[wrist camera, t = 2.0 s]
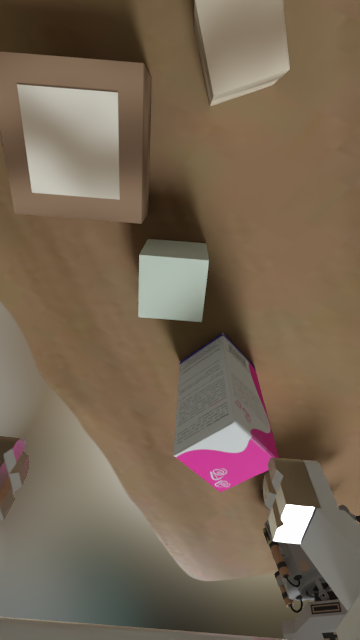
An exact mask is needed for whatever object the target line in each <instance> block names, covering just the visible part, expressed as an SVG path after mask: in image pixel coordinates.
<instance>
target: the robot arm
mask: <svg viewBox="0 0 360 640" xmlns="http://www.w3.org/2000/svg"><path fill="white" fill-rule="evenodd" d="M25 447H26V444H25V440H24V439H21V438H13V437H2V436H0V520H4V519H5V517H6V515H7V513H8V511H9V509H10V507H11V505H12V503H13V502H14V500H15V497H14V491H15V490H17V489H18V488H20V487H21V486H22V485H23V483H24V480H25V478H26V476H27V473H28V469H29V458H28V455H27V454H26V453H25V452H24V449H25ZM268 469H269V472H267V473H266V474H265V476H264V480H263V496H264V502H265V505H266V506H267V508H268V509H269V510H270V515H269V518H268V521H269V525H270V530H271V534H272V539H273V541H275V542H284V543H294V544H301V545H300V546H301V547H302V549H303V550H304V552H305V553H306V554H307V556H308V557H309V559H310V560H311V561H312V563H313V564H314V565H315V567H316V568H317V570H318V571H319V572H320V574H321V575H322V576H323V578H324V579H325V581H326V582H327V583H328V585H329V586H330V588H331V589H332V590H333V592H334V593H335V594H336V596H337V597H338V599H339V600H340V601H341V603H342V604H343V605H344V607H345V608H346V610H347V613H346V614H345V616H344V617H343V619H342V620H341V622H340V623H339V625H338V627H337V628H336V633H337V636H338V640H360V525H359V524H358V523H357V522H356V521H355V520H354V519H353V518H352V517H351V516H350V515H349V514H348V513H347V512H346V511H344V510H339V507H338V505H337V503H336V500H335V498H334V496H333V493H332V491H331V489H330V486H329V484H328V482H327V479H326V477H325V475H324V472H323V470H322V468H321V465H320V464H319V462H318V461H311V460H300V459H287V458H270V459H269V462H268ZM0 640H290V639H277V638H264V637H252V636H238V635H227V634H214V633H200V632H188V631H175V630H162V629H149V628H137V627H124V626H112V625H98V624H86V623H72V622H59V621H48V620H35V619H21V618H8V617H0Z"/></svg>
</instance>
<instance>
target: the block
mask: <svg viewBox="0 0 360 640" xmlns="http://www.w3.org/2000/svg"><path fill="white" fill-rule="evenodd" d="M194 30H195V35H196V40H197V45H198V50H199V55H200V60H201V65H202V70H203V75H204V80H205V85H206V90H207V95H208V100H209V104H210V106H213V105H216V104H219V103H222V102H225V101H228V100H230V99H233V98H236V97H239V96H242V95H245V94H248V93H251V92H254V91H257V90H260V89H262V88H265V87H268V86H271V85H273V84H274V83H275V82H276V81H277V80H279V79H280V78H281V77H282V76H283V75H284V74H285V73H286V72H288V71H289V70H290V67H289V57H288V47H287V37H286V27H285V17H284V7H283V0H195V4H194Z"/></svg>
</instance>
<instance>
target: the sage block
mask: <svg viewBox="0 0 360 640" xmlns="http://www.w3.org/2000/svg"><path fill="white" fill-rule="evenodd" d="M208 266H209V257H208V250H207V244H206V243H194V242H182V241H169V240H157V239H148V240H147V241H146V243H145V245H144V247H143V249H142V251H141V252H140V254H139V317H144V318H157V319H169V320H182V321H194V322H202V316H203V308H204V300H205V291H206V283H207V274H208Z"/></svg>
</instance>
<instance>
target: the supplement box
mask: <svg viewBox="0 0 360 640" xmlns="http://www.w3.org/2000/svg"><path fill="white" fill-rule="evenodd" d="M174 456H175V457H176V458H178V459H179V460H180V461H181V462H183V463H184V464H185V465H186V466H188V467H189V468H190V469H192V470H193V471H194V472H195V473H197V474H198V475H199V476H200V477H202V478H203V479H204V480H205V481H207V482H208V483H209V484H210V485H212V486H213V487H214V488H216V489H217V490H218V491H219V492H222V491H225V490H227V489H229V488H231V487H233V486H235V485H237V484H239V483H241V482H243V481H245V480H247V479H250V478H252V477H254V476H256V475H258V474H261V473H263V472H265V471H268V470H269V469H268V462H269V459H270V458H279V456H278V453H277V449H276V445H275V441H274V438H273V434H272V430H271V427H270V423H269V419H268V416H267V412H266V408H265V404H264V401H263V397H262V393H261V389H260V385H259V382H258V378H257V374H256V370H255V367H254V366H253V365H252V363H251V362H250V361H249V360H248V359H247V358H246V357H245V356H244V355H243V353H242V352H241V351H240V350H239V349H238V348H237V347H236V346H235V345H234V344H233V343H232V342H231V341H230V340H229V339H228V337H227V336H226V335H225V334H224V333H221V334H220V335H218V336H217V337H215V338H214V339H212V340H211V341H210V342H208V343H207V344H205V345H204V346H202V347H201V348H199V349H198V350H196V351H195V352H193V353H192V354H190V355H189V356H188V357H186V358H185V359H183V360H182V361H181V362H180V369H179V384H178V399H177V414H176V428H175V444H174Z"/></svg>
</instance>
